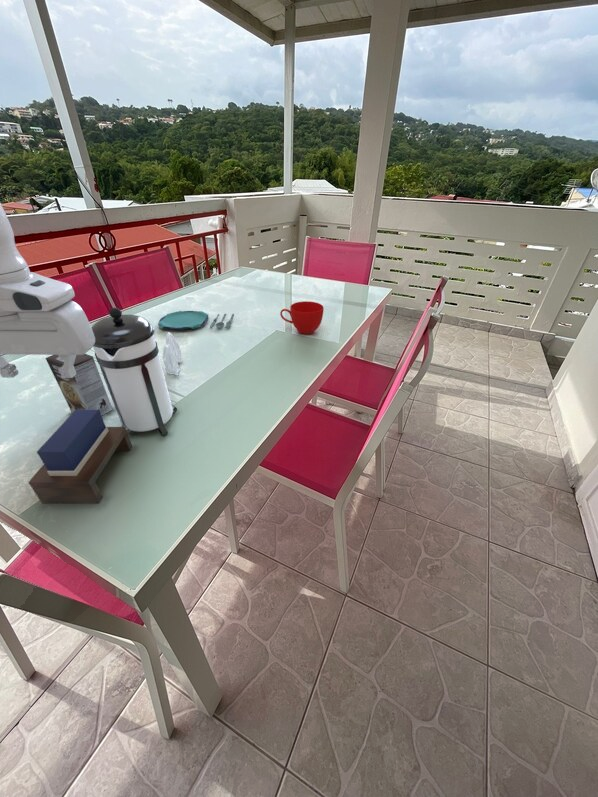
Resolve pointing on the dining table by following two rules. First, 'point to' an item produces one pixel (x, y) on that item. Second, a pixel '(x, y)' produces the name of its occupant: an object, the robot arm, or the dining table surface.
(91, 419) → the navy block white base
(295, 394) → the dining table surface
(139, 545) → the dining table surface
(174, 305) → the dining table surface
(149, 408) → the coffee press
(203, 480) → the dining table surface
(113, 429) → the shelf
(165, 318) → the cutlery set
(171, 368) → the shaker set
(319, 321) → the ceramic cup
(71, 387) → the coffee box
